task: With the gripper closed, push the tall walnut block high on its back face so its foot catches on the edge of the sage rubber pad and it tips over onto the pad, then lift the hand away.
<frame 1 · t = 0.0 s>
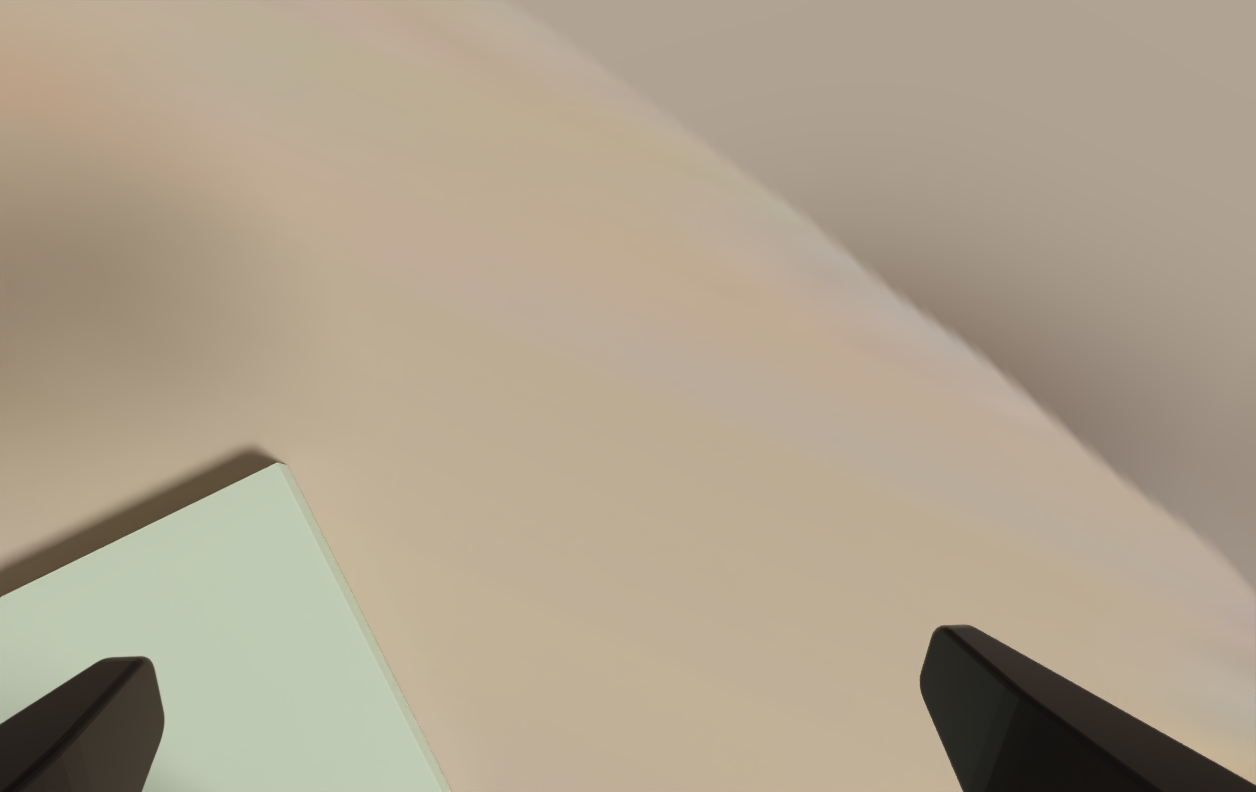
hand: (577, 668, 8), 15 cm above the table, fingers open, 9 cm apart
rubber pad: (140, 769, 20), on the table
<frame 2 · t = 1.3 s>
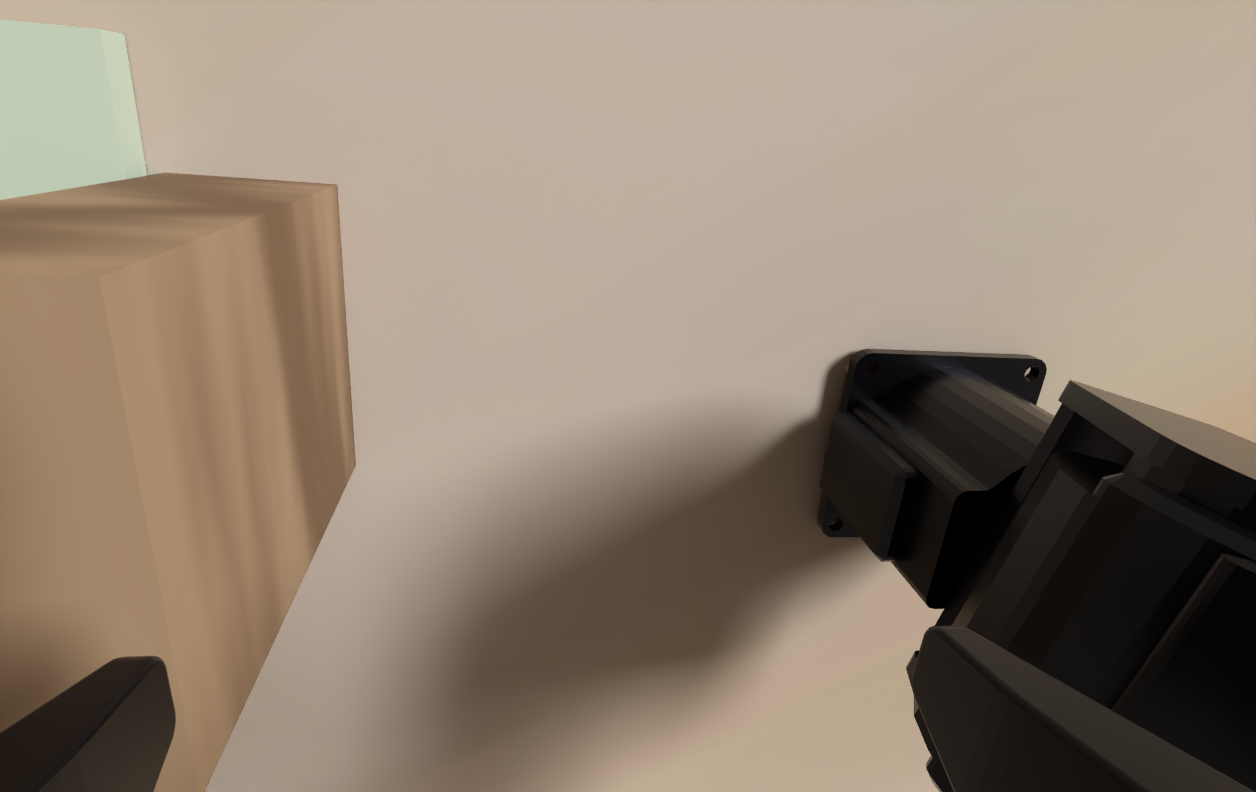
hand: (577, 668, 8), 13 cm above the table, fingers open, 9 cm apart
walnut block: (269, 332, 19), on the table
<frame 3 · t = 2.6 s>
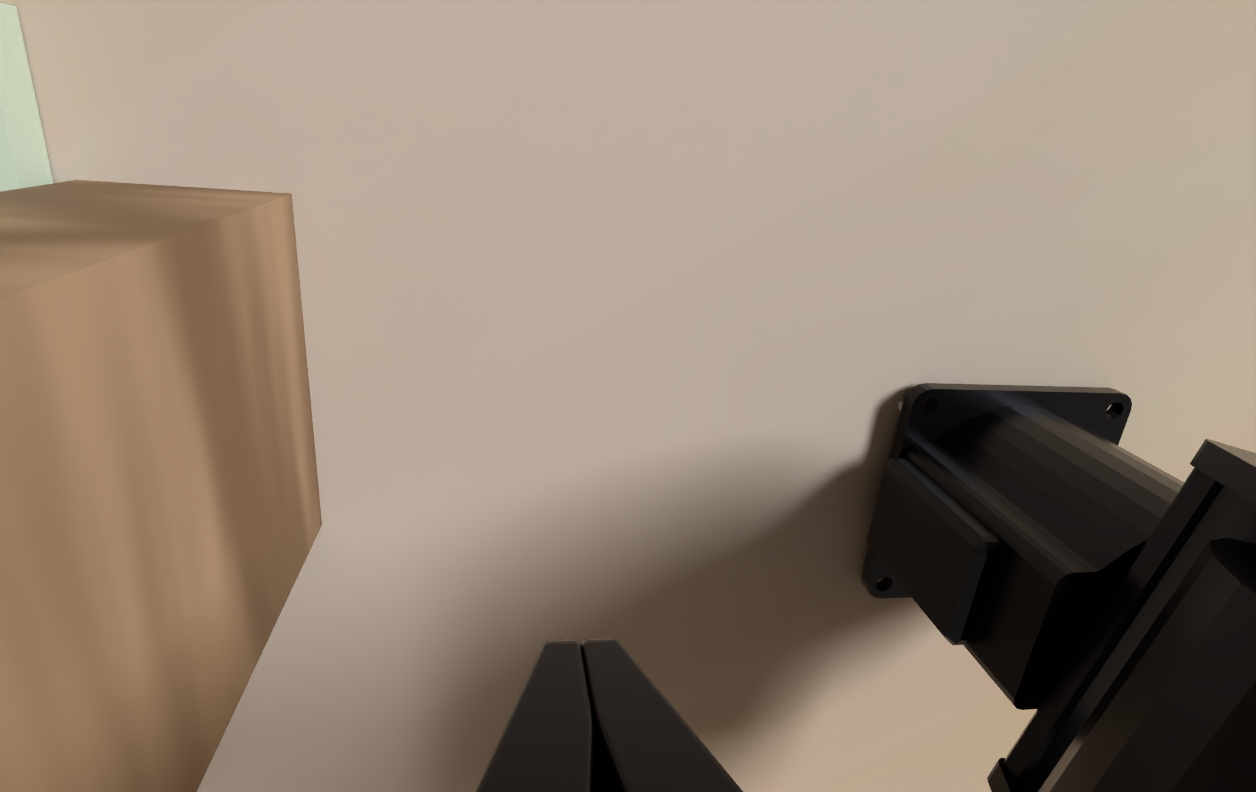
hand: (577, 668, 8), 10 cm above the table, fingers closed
walnut block: (213, 372, 16), on the table
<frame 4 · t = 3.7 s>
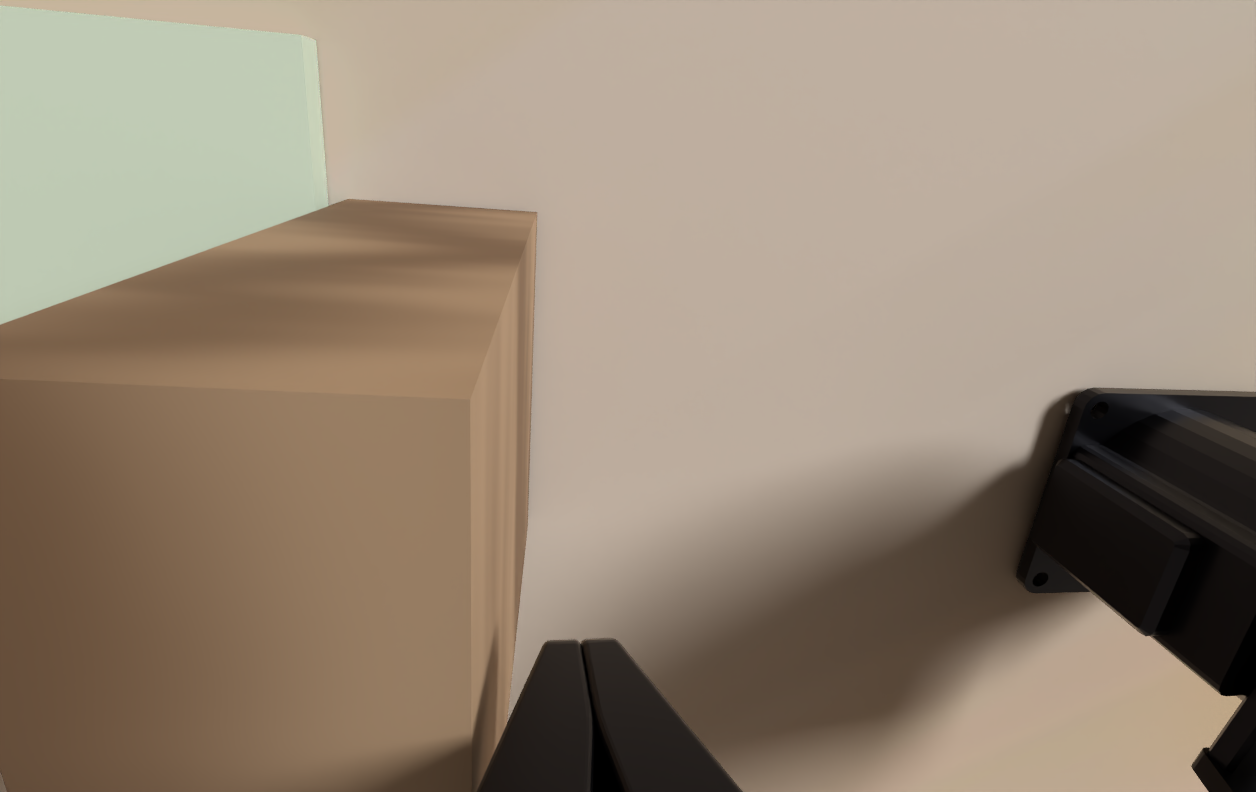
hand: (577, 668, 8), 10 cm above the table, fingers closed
rubber pad: (52, 368, 15), on the table
walnut block: (446, 379, 17), on the table, touching gripper
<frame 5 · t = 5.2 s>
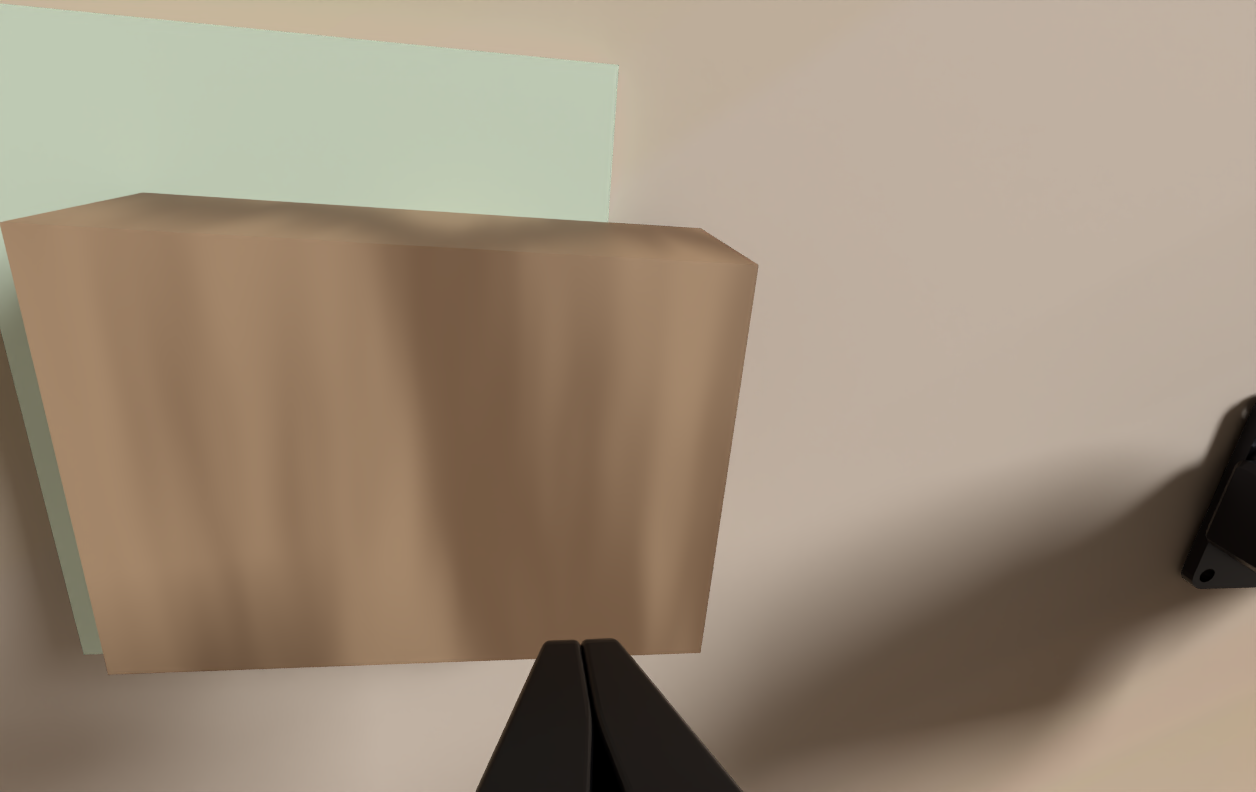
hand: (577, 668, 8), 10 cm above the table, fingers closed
rubber pad: (334, 374, 16), on the table
walnut block: (700, 435, 15), point 3 cm above the table, tilted 90°, touching rubber pad
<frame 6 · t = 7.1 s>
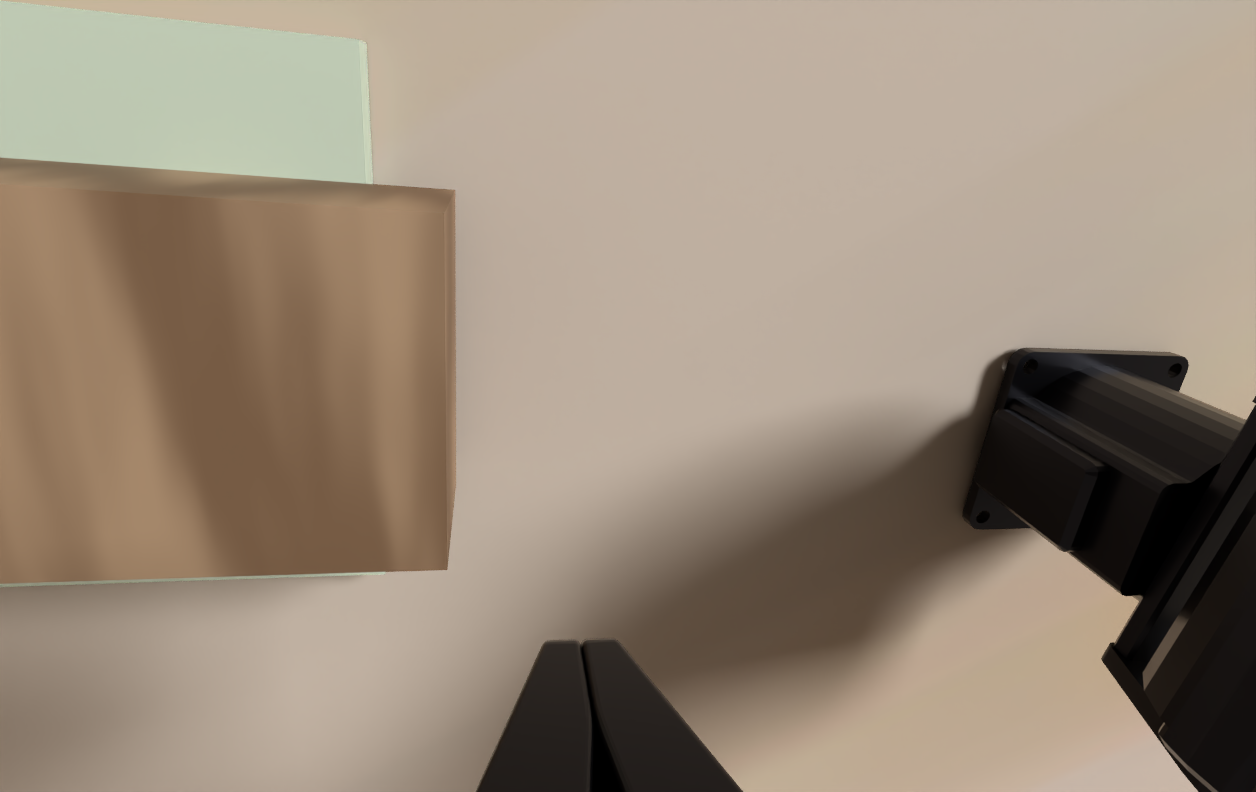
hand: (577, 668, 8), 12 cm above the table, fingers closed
rubber pad: (128, 326, 18), on the table
walnut block: (451, 375, 16), point 3 cm above the table, tilted 90°, touching rubber pad
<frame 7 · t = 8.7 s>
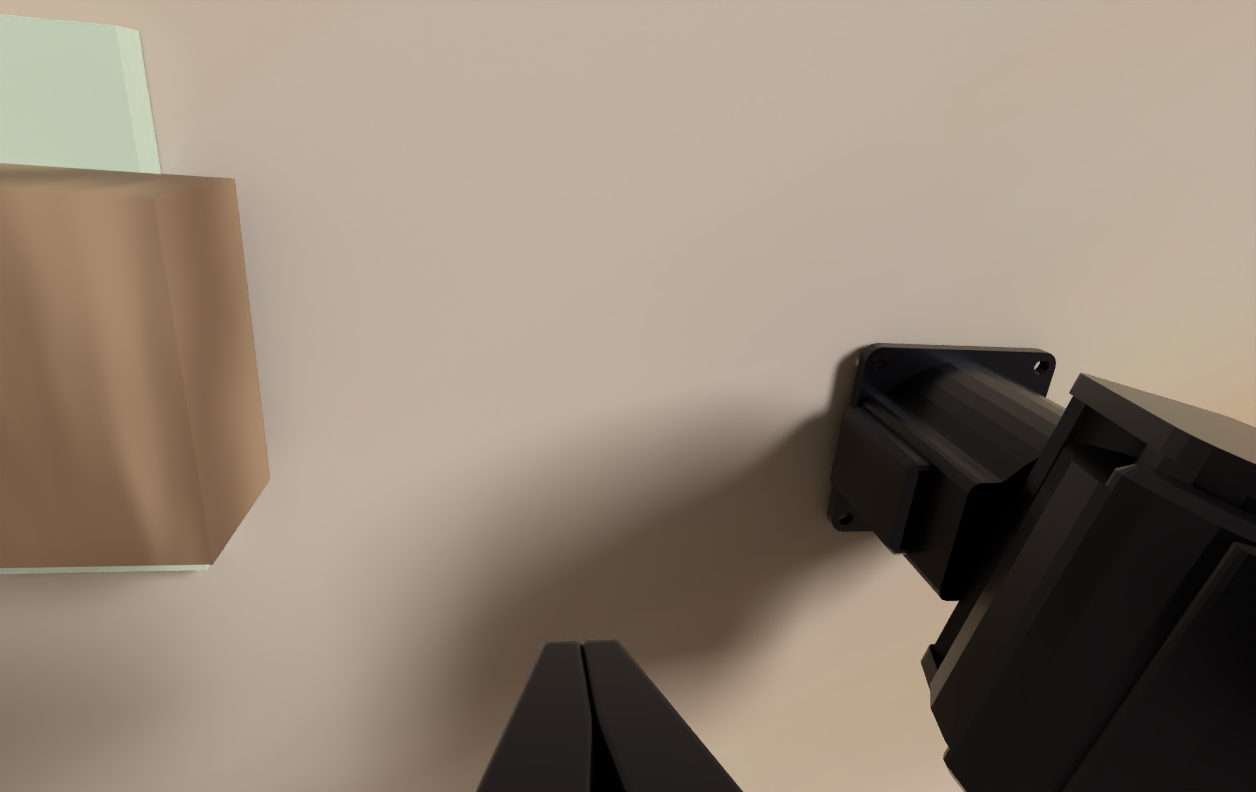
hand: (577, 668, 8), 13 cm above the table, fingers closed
walnut block: (224, 367, 16), point 3 cm above the table, tilted 90°, touching rubber pad
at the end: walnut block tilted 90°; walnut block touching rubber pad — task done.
